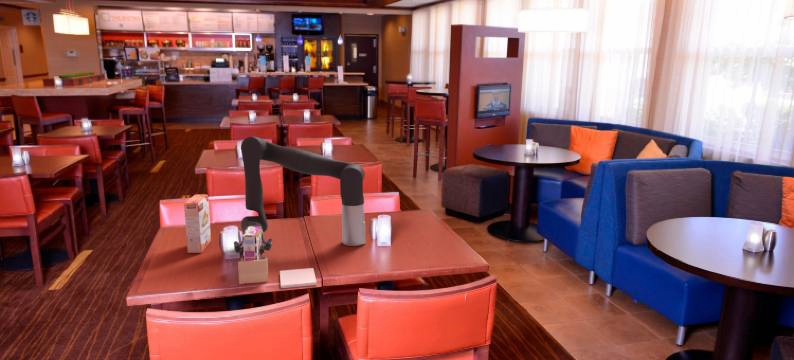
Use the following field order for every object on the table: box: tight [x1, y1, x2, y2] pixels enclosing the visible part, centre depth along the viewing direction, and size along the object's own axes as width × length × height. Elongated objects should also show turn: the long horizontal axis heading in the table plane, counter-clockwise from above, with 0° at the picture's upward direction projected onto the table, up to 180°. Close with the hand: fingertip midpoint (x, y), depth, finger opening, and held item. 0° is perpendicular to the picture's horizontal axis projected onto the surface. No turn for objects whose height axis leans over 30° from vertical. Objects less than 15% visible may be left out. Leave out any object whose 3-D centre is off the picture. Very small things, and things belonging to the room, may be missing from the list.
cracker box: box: [183, 194, 212, 254], centre depth 216 cm, size 14×6×21 cm, turn 3°
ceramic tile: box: [279, 267, 318, 289], centre depth 188 cm, size 12×13×1 cm
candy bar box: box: [241, 226, 263, 261], centre depth 190 cm, size 11×5×16 cm, turn 5°
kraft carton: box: [237, 255, 269, 285], centre depth 193 cm, size 10×19×8 cm, turn 14°
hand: (252, 252), depth 188 cm, fingers closed on candy bar box, 5 cm apart
